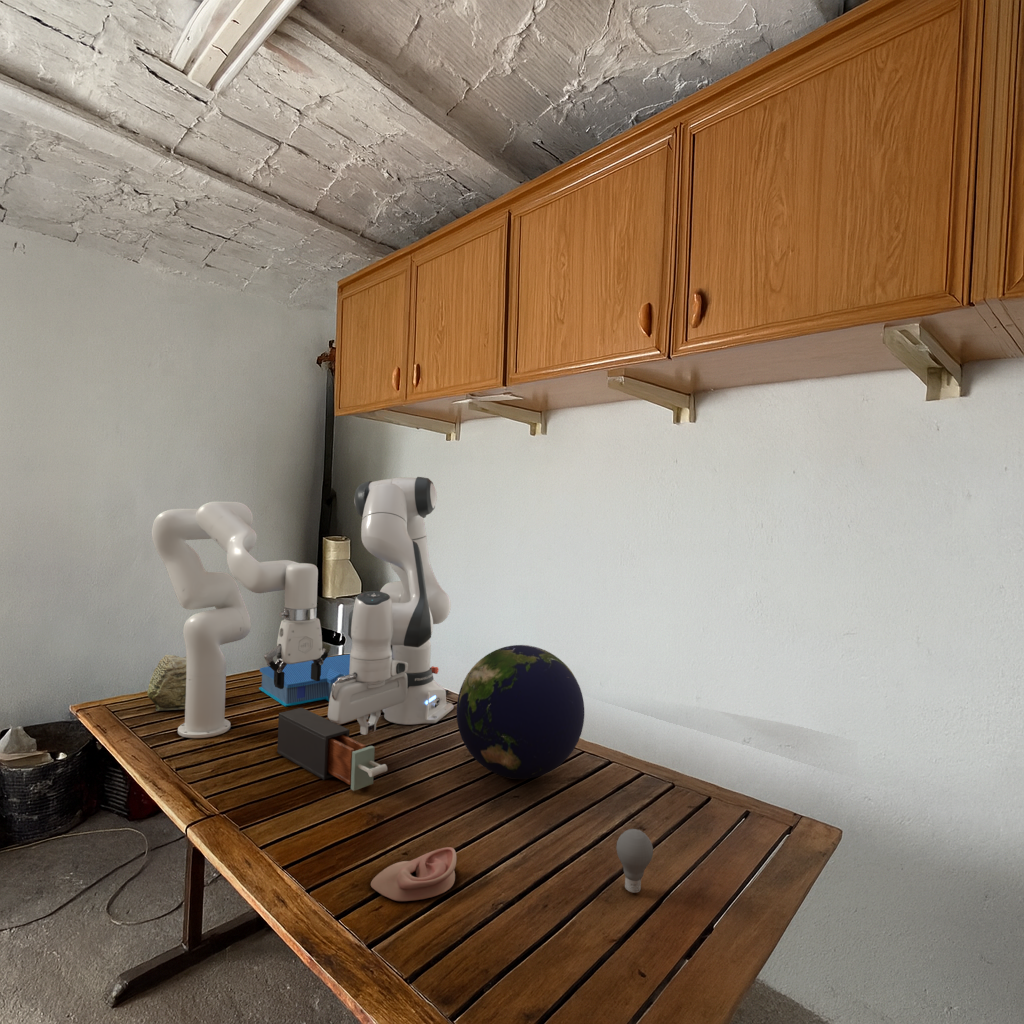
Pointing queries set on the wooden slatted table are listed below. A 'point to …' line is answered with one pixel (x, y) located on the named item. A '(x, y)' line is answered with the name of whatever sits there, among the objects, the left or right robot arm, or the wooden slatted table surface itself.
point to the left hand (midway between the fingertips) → (297, 683)
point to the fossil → (169, 683)
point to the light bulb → (634, 857)
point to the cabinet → (307, 739)
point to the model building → (305, 681)
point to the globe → (520, 712)
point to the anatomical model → (418, 876)
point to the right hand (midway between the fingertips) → (368, 732)
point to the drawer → (352, 762)
